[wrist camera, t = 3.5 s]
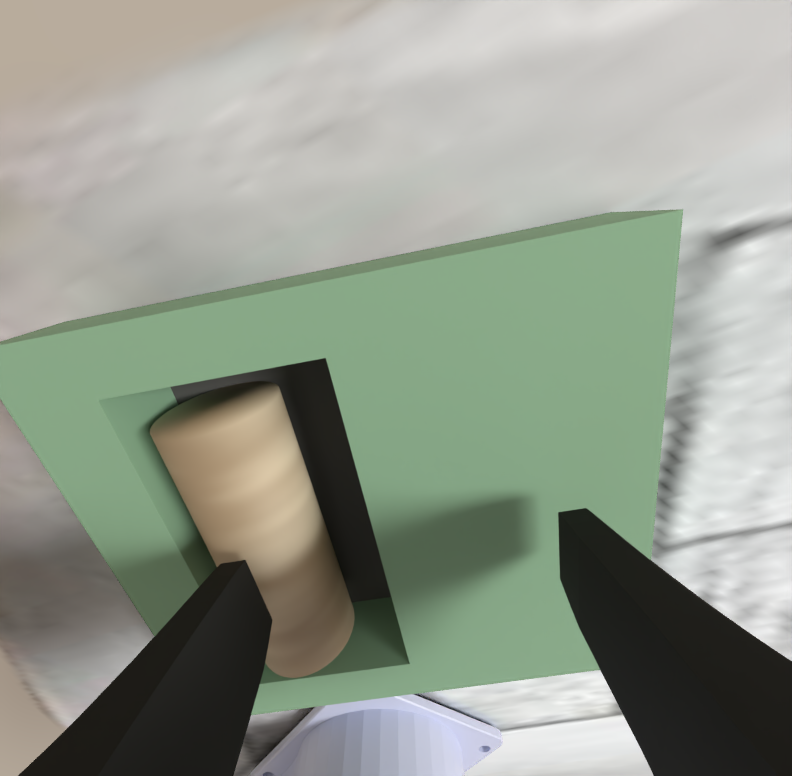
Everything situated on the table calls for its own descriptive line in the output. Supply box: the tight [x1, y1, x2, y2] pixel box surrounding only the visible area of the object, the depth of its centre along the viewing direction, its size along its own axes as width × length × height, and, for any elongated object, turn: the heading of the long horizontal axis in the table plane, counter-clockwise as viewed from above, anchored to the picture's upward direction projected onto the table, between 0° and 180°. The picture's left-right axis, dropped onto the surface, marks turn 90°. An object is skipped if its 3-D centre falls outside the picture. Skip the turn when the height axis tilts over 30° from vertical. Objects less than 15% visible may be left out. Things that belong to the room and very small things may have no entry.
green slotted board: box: [0, 209, 683, 715], centre depth 11 cm, size 14×13×2 cm
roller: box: [150, 381, 355, 678], centre depth 11 cm, size 8×3×3 cm
